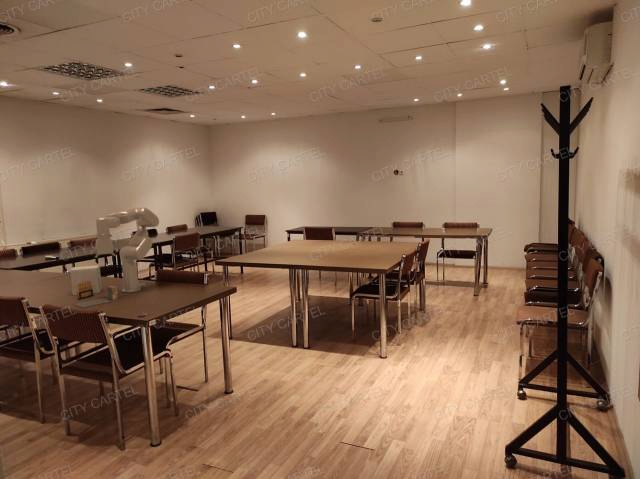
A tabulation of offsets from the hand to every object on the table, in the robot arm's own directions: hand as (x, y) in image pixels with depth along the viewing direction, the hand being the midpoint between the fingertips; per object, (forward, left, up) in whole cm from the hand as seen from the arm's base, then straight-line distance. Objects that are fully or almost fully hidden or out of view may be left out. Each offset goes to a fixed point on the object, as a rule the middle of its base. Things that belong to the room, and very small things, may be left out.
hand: (105, 262), depth 302 cm
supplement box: (0, -31, -24) cm, 40 cm away
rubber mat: (+12, +5, -24) cm, 27 cm away
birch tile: (-2, +3, -24) cm, 24 cm away
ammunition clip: (+8, -15, -24) cm, 30 cm away
